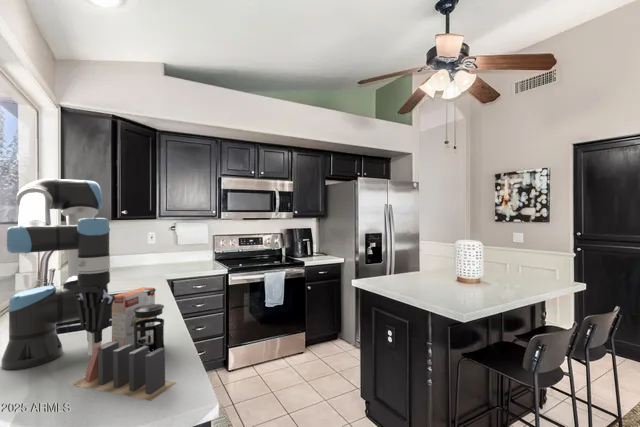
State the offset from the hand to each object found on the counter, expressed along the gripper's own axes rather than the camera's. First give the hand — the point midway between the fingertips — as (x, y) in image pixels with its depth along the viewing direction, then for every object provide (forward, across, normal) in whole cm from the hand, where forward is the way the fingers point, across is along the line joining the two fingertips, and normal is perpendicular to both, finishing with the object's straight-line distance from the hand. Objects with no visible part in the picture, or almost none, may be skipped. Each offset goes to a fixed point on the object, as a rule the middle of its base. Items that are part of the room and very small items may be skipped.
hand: (94, 353), depth 91 cm
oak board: (+8, +10, 0) cm, 13 cm away
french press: (+8, +3, +16) cm, 19 cm away
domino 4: (+7, +21, 0) cm, 23 cm away
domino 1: (+7, +5, 0) cm, 9 cm away
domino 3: (+7, +16, 0) cm, 18 cm away
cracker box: (+8, -8, +20) cm, 23 cm away
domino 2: (+7, +10, 0) cm, 13 cm away
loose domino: (+7, 0, 0) cm, 7 cm away
